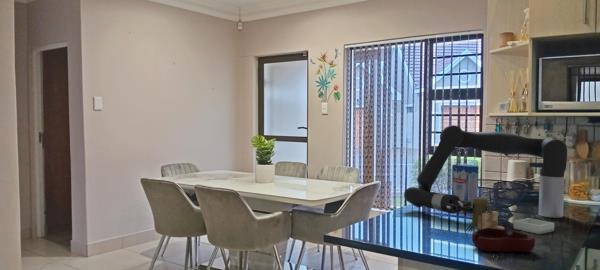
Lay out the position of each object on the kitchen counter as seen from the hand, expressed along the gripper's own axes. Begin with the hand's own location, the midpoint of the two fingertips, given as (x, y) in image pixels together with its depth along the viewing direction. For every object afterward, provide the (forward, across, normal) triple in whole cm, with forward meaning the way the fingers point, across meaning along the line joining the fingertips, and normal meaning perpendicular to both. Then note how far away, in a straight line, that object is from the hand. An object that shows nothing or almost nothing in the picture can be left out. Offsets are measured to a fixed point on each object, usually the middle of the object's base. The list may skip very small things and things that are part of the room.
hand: (479, 209), depth 180 cm
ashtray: (+22, -22, +7) cm, 32 cm away
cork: (0, 0, +7) cm, 7 cm away
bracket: (+5, 0, +6) cm, 8 cm away
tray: (+14, +13, +6) cm, 20 cm away
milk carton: (-26, +25, +7) cm, 37 cm away
